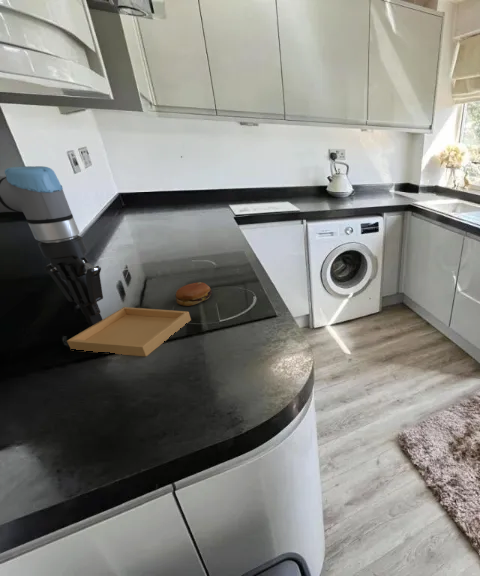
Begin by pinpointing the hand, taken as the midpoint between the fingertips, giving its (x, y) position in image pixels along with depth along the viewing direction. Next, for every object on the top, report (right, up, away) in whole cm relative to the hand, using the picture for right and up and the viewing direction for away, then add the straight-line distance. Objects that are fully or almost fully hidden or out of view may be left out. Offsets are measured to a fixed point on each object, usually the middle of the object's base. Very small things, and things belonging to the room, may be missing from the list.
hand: (96, 324), depth 85 cm
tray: (+10, -2, 0) cm, 11 cm away
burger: (+16, +6, +18) cm, 24 cm away
